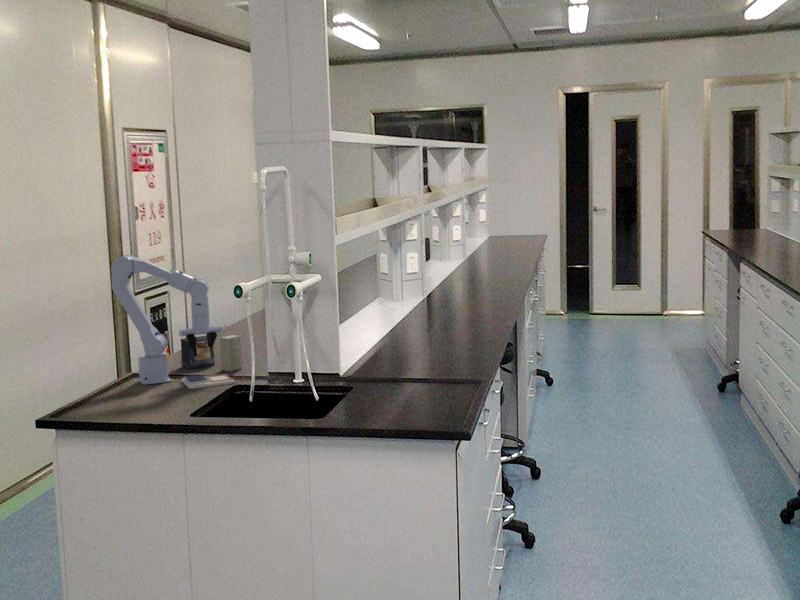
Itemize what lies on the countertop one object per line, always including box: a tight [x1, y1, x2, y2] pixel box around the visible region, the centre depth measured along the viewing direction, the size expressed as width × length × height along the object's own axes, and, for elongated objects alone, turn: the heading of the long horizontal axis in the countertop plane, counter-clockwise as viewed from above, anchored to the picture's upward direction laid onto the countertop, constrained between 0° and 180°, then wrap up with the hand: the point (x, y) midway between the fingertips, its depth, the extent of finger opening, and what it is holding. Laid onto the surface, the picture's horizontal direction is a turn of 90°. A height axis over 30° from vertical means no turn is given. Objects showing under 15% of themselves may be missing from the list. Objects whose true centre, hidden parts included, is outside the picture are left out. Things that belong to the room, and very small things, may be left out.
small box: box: [180, 335, 215, 370], centre depth 314 cm, size 11×6×10 cm, turn 129°
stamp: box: [194, 341, 211, 362], centre depth 291 cm, size 4×4×6 cm
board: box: [181, 373, 236, 390], centre depth 287 cm, size 15×12×2 cm
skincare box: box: [219, 334, 243, 372], centre depth 306 cm, size 6×4×12 cm
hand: (202, 355), depth 291 cm, fingers closed on stamp, 4 cm apart
